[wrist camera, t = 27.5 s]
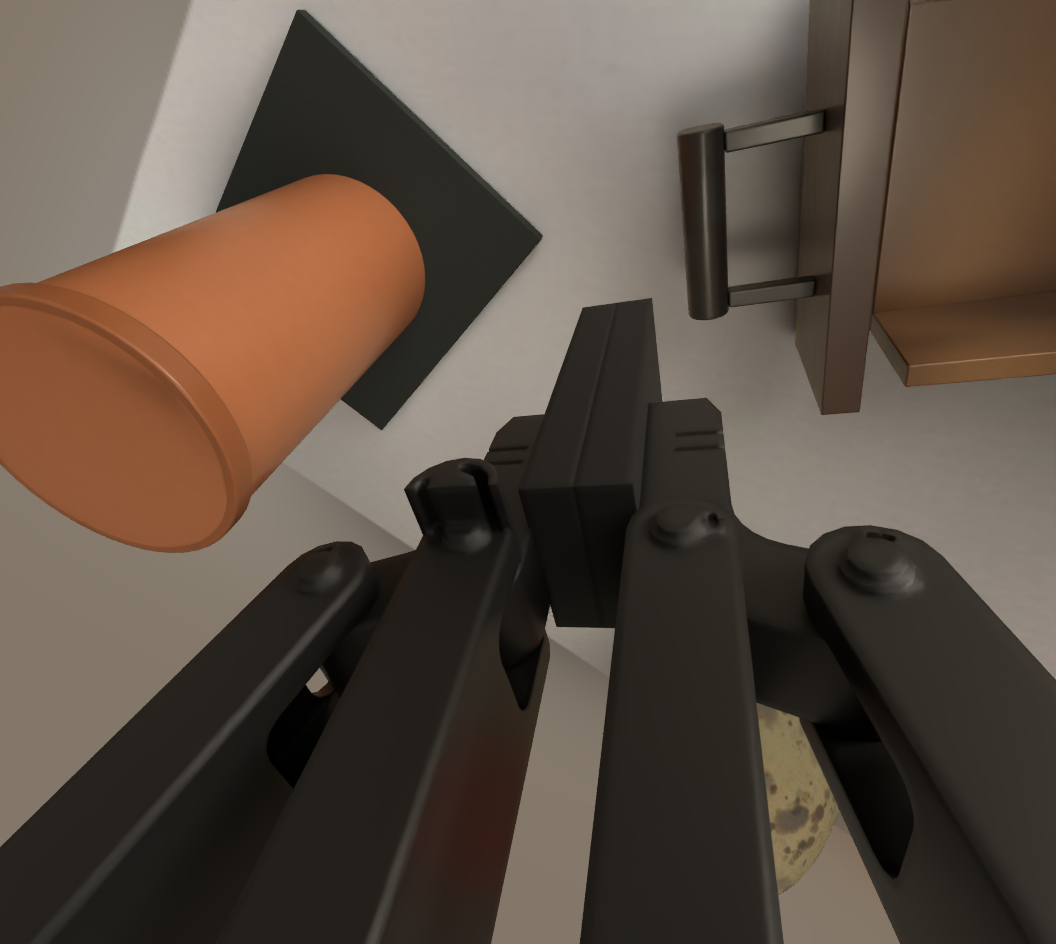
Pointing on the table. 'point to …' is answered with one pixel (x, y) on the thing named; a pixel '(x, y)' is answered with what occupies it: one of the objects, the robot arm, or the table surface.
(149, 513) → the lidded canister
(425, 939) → the robot arm
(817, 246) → the drawer
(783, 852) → the decorative egg
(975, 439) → the table surface
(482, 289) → the mat
